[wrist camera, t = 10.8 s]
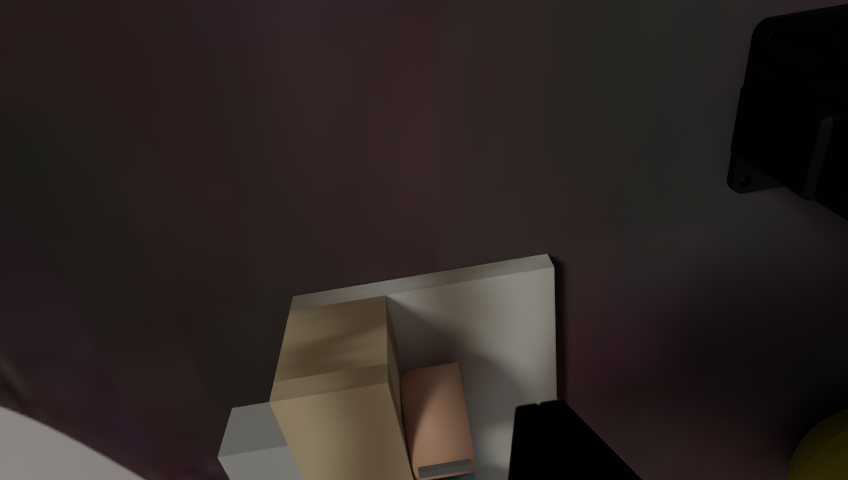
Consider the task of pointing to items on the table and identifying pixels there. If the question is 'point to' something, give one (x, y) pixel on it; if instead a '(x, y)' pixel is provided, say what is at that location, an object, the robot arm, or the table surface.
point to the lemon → (822, 451)
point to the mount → (413, 364)
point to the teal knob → (463, 478)
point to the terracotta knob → (421, 416)
